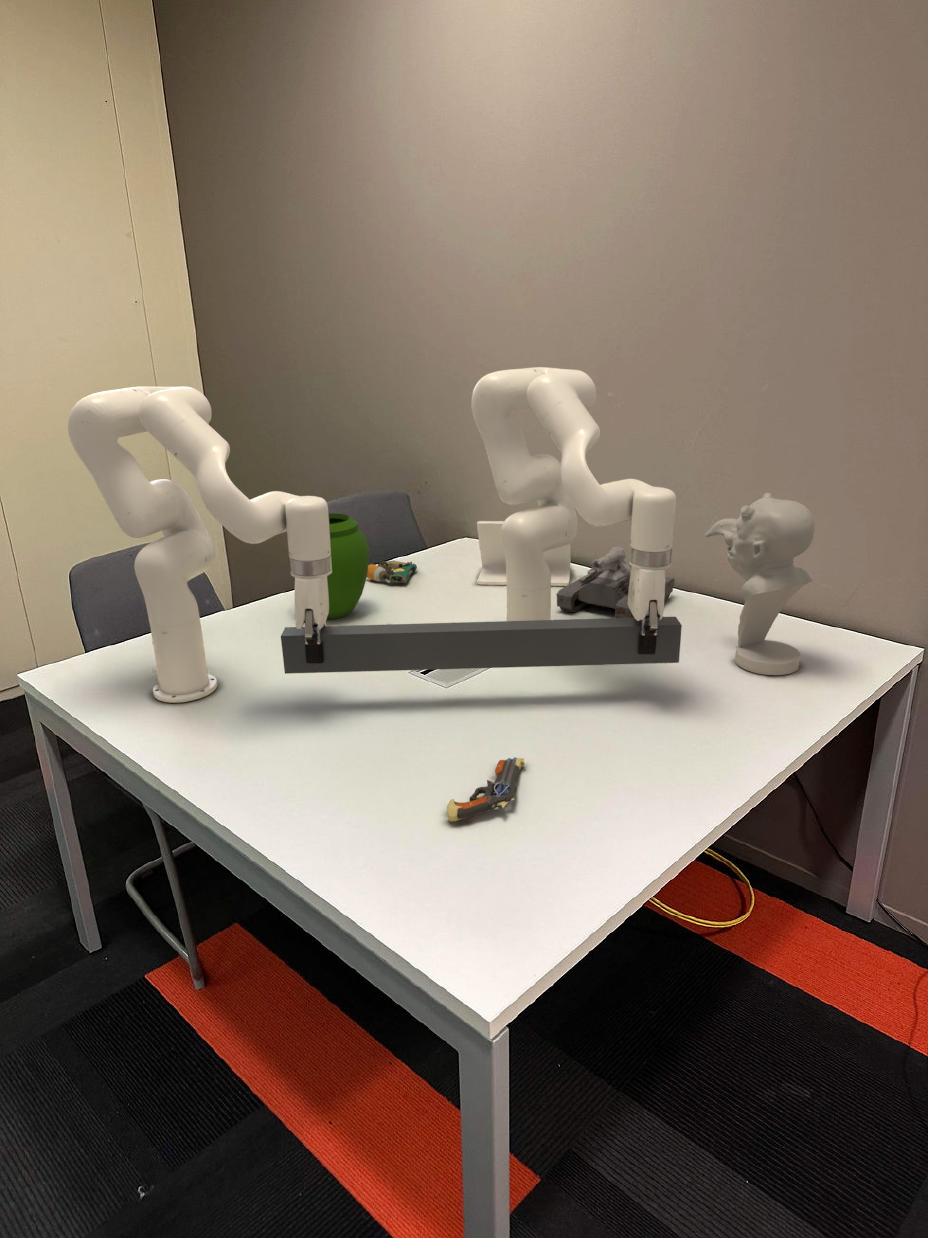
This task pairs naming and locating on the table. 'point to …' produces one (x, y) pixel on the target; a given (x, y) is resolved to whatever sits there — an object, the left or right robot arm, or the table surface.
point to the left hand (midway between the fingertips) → (317, 656)
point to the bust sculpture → (766, 576)
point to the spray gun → (391, 571)
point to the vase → (346, 565)
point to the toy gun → (490, 792)
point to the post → (481, 645)
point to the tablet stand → (496, 563)
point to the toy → (604, 586)
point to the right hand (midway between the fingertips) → (643, 647)
